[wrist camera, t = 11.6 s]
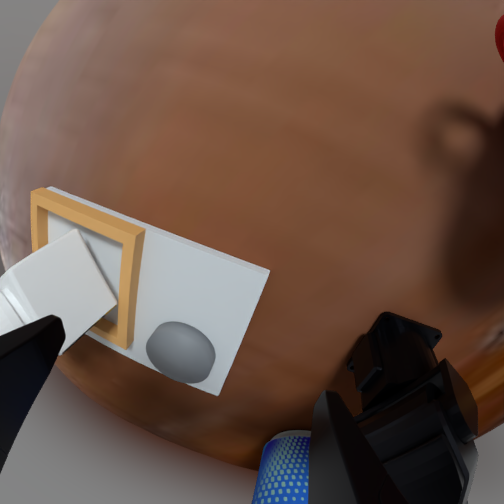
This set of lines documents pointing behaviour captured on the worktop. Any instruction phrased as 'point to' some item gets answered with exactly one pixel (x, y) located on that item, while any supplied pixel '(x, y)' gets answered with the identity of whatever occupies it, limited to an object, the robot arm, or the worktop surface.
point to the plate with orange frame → (158, 289)
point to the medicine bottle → (56, 289)
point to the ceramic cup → (500, 36)
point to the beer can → (284, 469)
